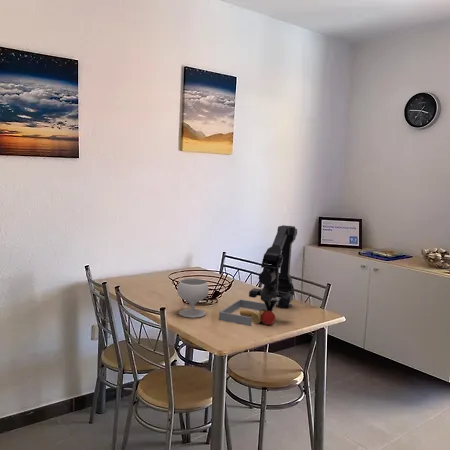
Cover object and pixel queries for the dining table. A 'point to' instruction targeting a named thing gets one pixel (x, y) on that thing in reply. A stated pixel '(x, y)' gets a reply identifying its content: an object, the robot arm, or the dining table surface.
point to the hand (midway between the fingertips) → (269, 314)
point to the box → (227, 316)
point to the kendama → (260, 316)
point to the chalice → (192, 295)
